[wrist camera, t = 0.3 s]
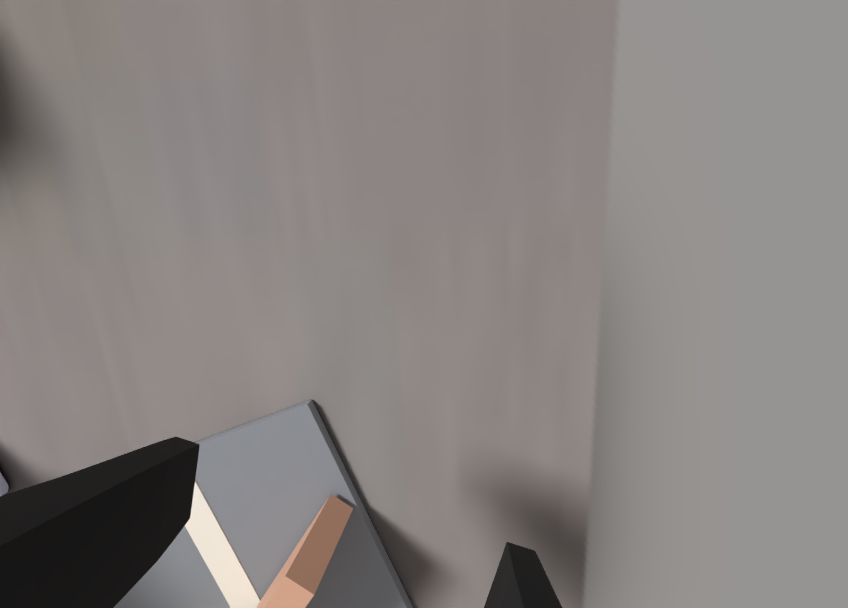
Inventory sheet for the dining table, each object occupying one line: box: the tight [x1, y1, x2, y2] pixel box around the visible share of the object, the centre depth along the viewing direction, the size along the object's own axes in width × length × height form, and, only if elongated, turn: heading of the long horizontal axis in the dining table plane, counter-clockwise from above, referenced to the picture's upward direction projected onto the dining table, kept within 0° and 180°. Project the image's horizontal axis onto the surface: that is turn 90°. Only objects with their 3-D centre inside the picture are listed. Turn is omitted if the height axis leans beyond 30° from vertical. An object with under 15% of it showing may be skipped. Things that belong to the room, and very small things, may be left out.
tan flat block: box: [256, 494, 353, 608], centre depth 18 cm, size 8×1×4 cm, turn 148°
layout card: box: [114, 400, 413, 608], centre depth 22 cm, size 16×14×1 cm
